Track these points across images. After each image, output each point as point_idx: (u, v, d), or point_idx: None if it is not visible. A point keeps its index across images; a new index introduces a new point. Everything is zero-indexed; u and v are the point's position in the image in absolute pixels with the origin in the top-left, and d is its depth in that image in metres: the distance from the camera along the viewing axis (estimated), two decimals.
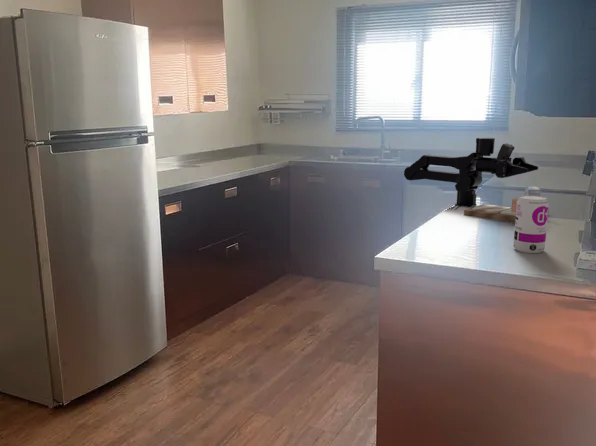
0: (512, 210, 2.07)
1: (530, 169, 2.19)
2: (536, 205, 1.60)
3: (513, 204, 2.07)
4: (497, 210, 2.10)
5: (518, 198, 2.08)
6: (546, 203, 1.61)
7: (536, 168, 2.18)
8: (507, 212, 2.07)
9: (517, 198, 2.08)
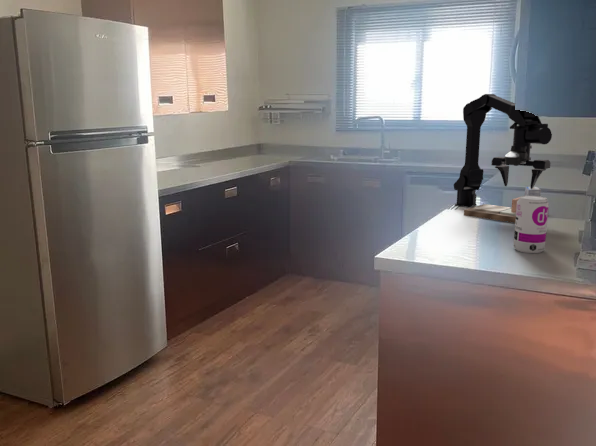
0: (512, 210, 2.07)
1: None
2: (536, 205, 1.60)
3: (513, 204, 2.07)
4: (497, 210, 2.10)
5: (518, 198, 2.08)
6: (546, 203, 1.61)
7: None
8: (507, 212, 2.07)
9: (517, 198, 2.08)
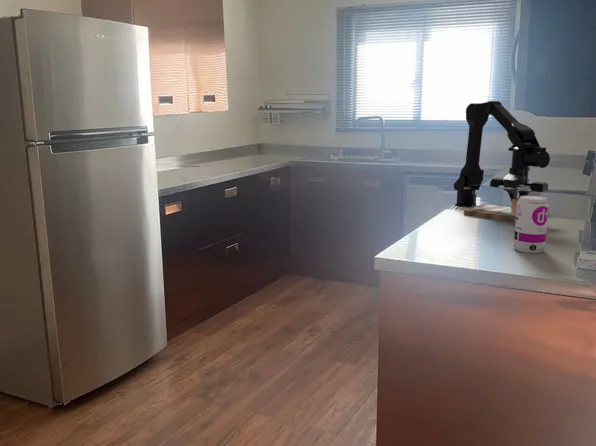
0: (512, 210, 2.07)
1: None
2: (536, 205, 1.60)
3: (513, 204, 2.07)
4: (497, 210, 2.10)
5: (518, 198, 2.08)
6: (546, 203, 1.61)
7: None
8: (507, 212, 2.07)
9: (517, 198, 2.08)
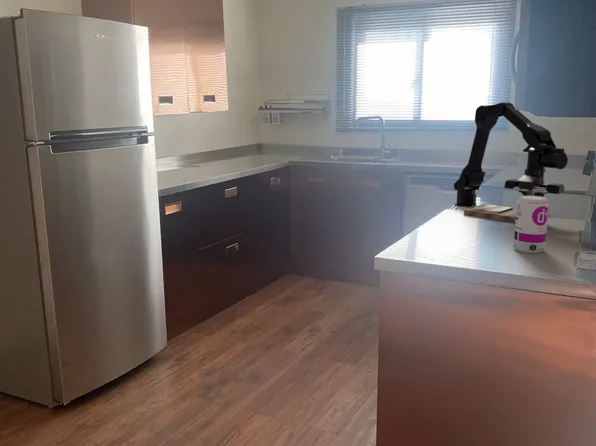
0: None
1: None
2: (536, 205, 1.60)
3: None
4: (497, 210, 2.10)
5: None
6: (546, 203, 1.61)
7: None
8: None
9: None
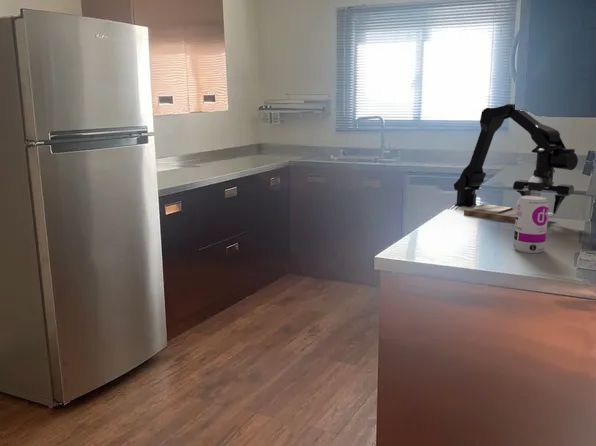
0: None
1: None
2: (536, 205, 1.60)
3: None
4: (497, 210, 2.10)
5: None
6: (546, 203, 1.61)
7: None
8: None
9: None
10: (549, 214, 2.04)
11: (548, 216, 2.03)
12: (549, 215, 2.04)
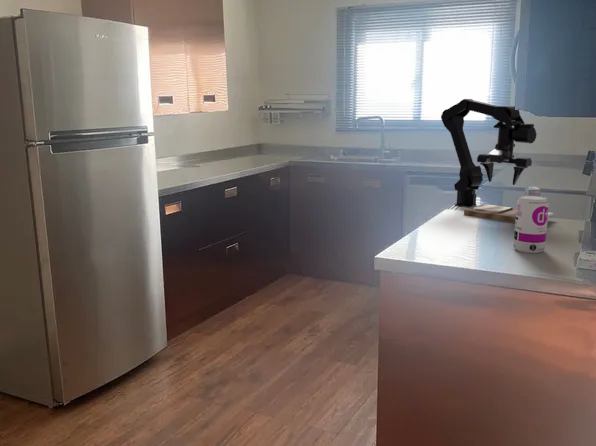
0: None
1: None
2: (536, 205, 1.60)
3: None
4: (497, 210, 2.10)
5: None
6: (546, 203, 1.61)
7: None
8: None
9: None
10: (549, 214, 2.04)
11: (548, 216, 2.03)
12: (549, 215, 2.04)
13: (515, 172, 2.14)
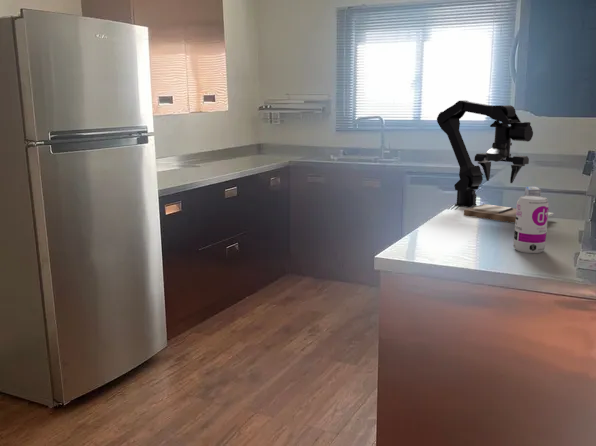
0: None
1: None
2: (536, 205, 1.60)
3: None
4: (497, 210, 2.10)
5: None
6: (546, 203, 1.61)
7: None
8: None
9: None
10: (549, 214, 2.04)
11: (548, 216, 2.03)
12: (549, 215, 2.04)
13: (512, 170, 2.16)
